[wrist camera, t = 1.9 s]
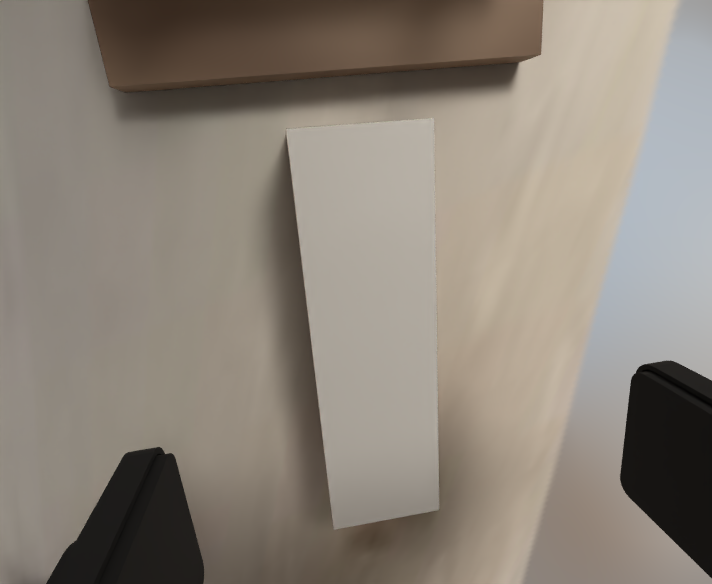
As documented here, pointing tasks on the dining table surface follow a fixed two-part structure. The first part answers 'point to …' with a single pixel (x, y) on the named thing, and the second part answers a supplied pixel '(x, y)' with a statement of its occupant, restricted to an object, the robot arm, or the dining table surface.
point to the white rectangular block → (371, 310)
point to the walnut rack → (304, 38)
